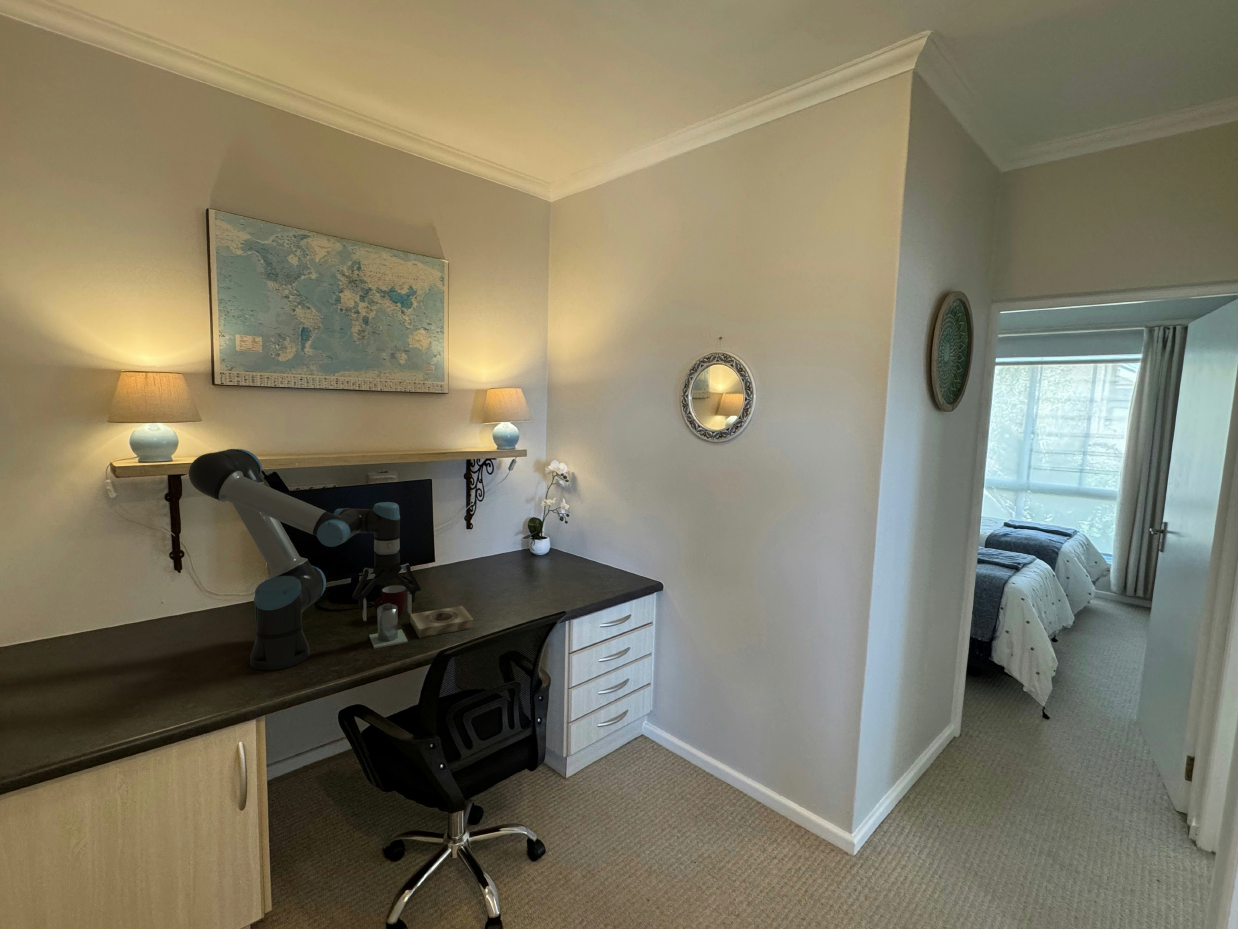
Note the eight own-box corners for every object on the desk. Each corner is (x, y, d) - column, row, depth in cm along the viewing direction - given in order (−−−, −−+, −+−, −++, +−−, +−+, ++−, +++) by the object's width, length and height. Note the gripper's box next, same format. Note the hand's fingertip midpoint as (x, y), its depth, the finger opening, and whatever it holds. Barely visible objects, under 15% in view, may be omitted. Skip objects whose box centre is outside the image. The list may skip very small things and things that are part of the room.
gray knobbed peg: (379, 643, 182) (378, 609, 180) (376, 636, 187) (375, 603, 185) (399, 639, 185) (399, 606, 183) (396, 632, 190) (395, 600, 188)
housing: (419, 637, 188) (419, 629, 188) (410, 622, 200) (410, 614, 199) (473, 627, 197) (473, 619, 197) (461, 613, 209) (461, 605, 209)
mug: (378, 623, 198) (377, 595, 196) (372, 616, 204) (371, 589, 203) (409, 617, 204) (409, 590, 203) (402, 610, 210) (402, 583, 209)
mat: (374, 648, 179) (374, 646, 179) (369, 636, 187) (369, 634, 187) (407, 642, 184) (407, 640, 184) (401, 631, 193) (401, 629, 193)
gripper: (345, 559, 173) (346, 626, 175) (430, 550, 185) (430, 613, 188) (342, 552, 179) (343, 618, 181) (424, 544, 192) (424, 605, 194)
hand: (387, 615), depth 185 cm, fingers open, 13 cm apart
